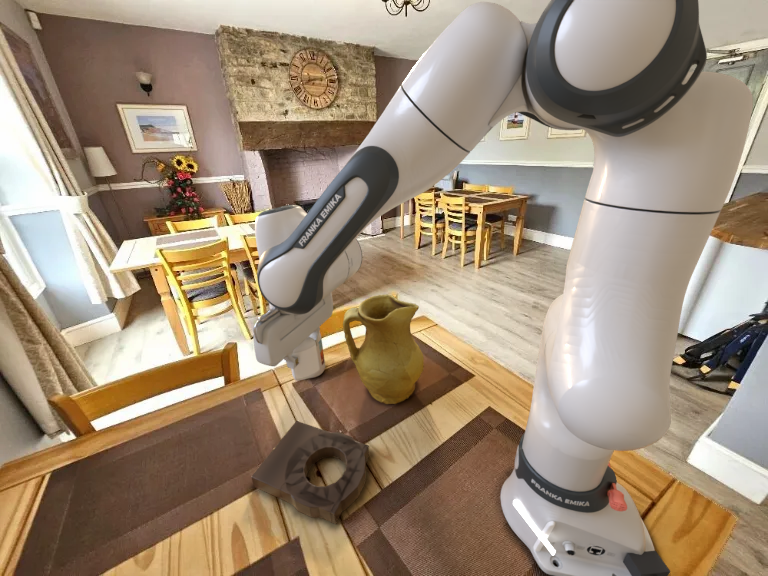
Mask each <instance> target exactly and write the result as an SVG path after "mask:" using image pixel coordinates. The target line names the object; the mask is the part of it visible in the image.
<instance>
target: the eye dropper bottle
mask: <svg viewBox="0 0 768 576" xmlns="http://www.w3.org/2000/svg"><path fill="white" fill-rule="evenodd" d="M291 356H293V357H298V362H299V364H298V365H297V366H296V367H295V368H294V369H291V368H290V370H291V375H292V378H293V379H294V380H295V381H303V380H307V379H311V378H310V377H312V376H314V375H315V374H317V373H318V372H319V371H320V365H319V359H318V352H317V346H316V342H315V340H314V339H313V338H312V337H307V338H306V339H305V340H304V341H303V342H302V343H301V344H300V345H299V346H298V347H296V348H295V349H294V350H293V355H291Z"/></svg>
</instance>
